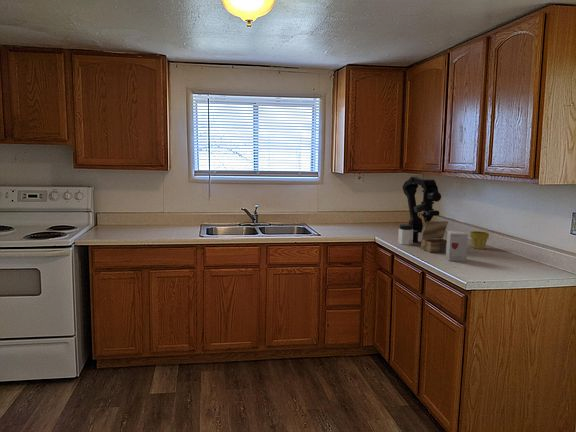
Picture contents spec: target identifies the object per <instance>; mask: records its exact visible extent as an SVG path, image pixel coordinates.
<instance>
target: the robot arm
mask: <svg viewBox="0 0 576 432" xmlns="http://www.w3.org/2000/svg"><path fill="white" fill-rule="evenodd" d="M419 186H420V187H421V188H422V191H421V192H422V193H423V194H422V195H423V199H422V201H421V202H420V204H418V205H417V202H416V201H417V199H416V193H417V189H418V187H419ZM438 187H439V186H437V182H436V180H435V179H429V178H428V179H425V178H422V177H419V176H410V178H409V179H407V180H406V181H404V183H403V184H402V191H403V193H404V195H405V196H406V198H407V204H408V209H409V211H408V212H409V220H408V224H410V225H413V243H420V241H419V234H422V233H423V230H424V225H425V224H426V222H430V221H432V220H433V219H432V218H433V217H434V216H440V214H441V213H440V211H439V210H436V209H434V208H433V207H434V204H435V202H436V203H438V202H439V201H441V199H442V194H441V193H440V192H439V189H438ZM419 213H420V215H421V216H422V217H423V219H422V217H419ZM423 221H424V225H423Z"/></svg>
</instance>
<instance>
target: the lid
mask: <svg viewBox="0 0 576 432" xmlns="http://www.w3.org/2000/svg"><path fill="white" fill-rule="evenodd" d="M448 223H449V221H447V220H439V221H436V220H435V221H432V220H431V221H430V222H426V224H425V223H424V226H423V229H422V233H421V237H420V239H444V236H445V232H446V230H447V227H448Z"/></svg>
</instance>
